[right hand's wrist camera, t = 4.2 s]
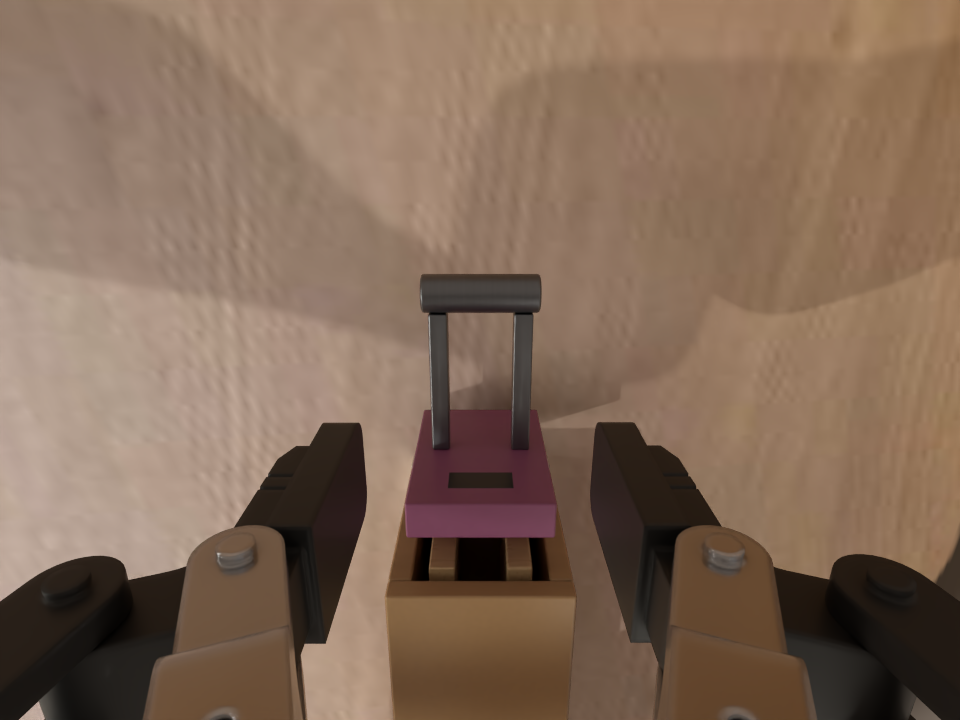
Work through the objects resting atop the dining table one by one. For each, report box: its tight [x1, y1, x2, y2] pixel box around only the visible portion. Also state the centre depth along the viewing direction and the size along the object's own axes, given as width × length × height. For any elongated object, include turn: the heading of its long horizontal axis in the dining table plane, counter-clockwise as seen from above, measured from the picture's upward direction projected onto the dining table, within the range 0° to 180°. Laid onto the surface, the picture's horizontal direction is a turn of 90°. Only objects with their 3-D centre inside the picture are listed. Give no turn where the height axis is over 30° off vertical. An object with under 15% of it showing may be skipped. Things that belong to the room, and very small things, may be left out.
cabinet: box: [385, 456, 577, 720], centre depth 24 cm, size 20×6×8 cm, turn 0°
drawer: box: [405, 274, 557, 581], centre depth 22 cm, size 25×4×6 cm, turn 0°
